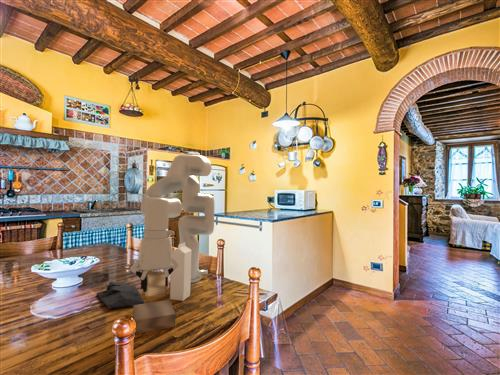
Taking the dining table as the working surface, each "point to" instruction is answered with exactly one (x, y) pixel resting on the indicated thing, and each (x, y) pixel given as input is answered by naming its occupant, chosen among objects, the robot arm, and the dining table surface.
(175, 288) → the milk
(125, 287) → the dark slate chunk
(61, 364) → the dining table surface
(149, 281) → the beech block
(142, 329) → the walnut base
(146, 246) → the robot arm
